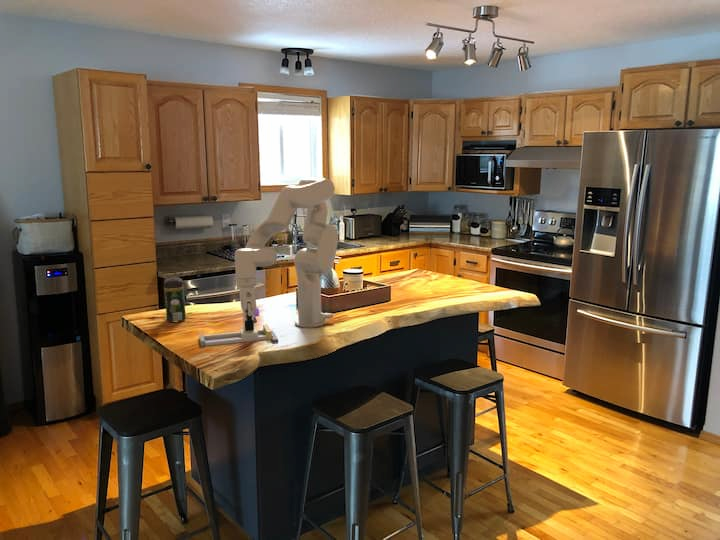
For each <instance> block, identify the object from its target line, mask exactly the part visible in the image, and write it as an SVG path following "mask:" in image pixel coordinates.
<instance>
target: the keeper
mask: <svg viewBox="0 0 720 540" xmlns="http://www.w3.org/2000/svg"><path fill="white" fill-rule="evenodd" d="M247 315H248V314H247ZM253 321H254V317H253ZM242 326H243V327H242V328H241V329H240V328H239V332H240V336H241V338H246V337H255V336H258V332H257V330H258V329H257V328H256V327H254V330H253V331H245V313H243V312H242Z"/></svg>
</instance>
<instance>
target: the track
mask: <svg viewBox="0 0 720 540" xmlns="http://www.w3.org/2000/svg"><path fill="white" fill-rule="evenodd" d="M256 330H257V332H258V336H255V337H246V338H241V336H240V331H236V332H235V331H234V332H227V333H226V332H224V333H217V334H215V333H214V334H204V332H201V333H198V334H199V338H198V339H199V343H200V344H199V345H200V348H208V347H209V348H211V347H218V346H219V347H220V346H226V345H227V346H228V345H238V344H246V343H255V342H257V343H258V342H265V341H270V343H271V344H275V342H276V343H279V339H278V337H277V335H276V334H275V332H274V330H271V329H270V327H269V325H268V324H262V329H256Z"/></svg>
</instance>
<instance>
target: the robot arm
mask: <svg viewBox="0 0 720 540" xmlns="http://www.w3.org/2000/svg"><path fill="white" fill-rule="evenodd" d="M335 189H336V188H335V185H334V182H333V181H332V180H330V179H328V178H323V177H322V178H321V177H306V178H302V179H300V180H299V182H298V184H297V185H285V186H284V187H282V189H281V190H280V192H279V194H278V195H277V198H276V200H275V203H274V204H273V207H272V208H271V210H270V212H269V214H268V217H267V218H266V219H265V220H264V221H262V223H260V224H259V226H257V228H255V230H254V231H253V232H252V233H251V234H250V236H249V239H248V240H247V243H246V244H245V247H243V248H238V249H236V250H235V252H234V264H235V265H234V266H235V283H236V287H237V288H239V300H240V308H241V310H242V314H243V313H245V331H253V330H254V328H255V323H254V321H253V311H254V312H256V311H257V309H256V308H257V302H256V300H257V299H256V289H255V287H256V286H258V283H257V282H258V281H257V267H265V268H267V267H270V266H272V265H274V264H275V263H276V261H277V259H278V253H277V252H276V250H275V249H274V248H273V247H270V246H265V245H266V243H267V242H268V241H269V240H270V238H272V237H273V236H275V235H277V234H279V233H283V231H285V230H287V229H288V228H289V226H290V224H291V222H292V219H293V218H294V215H295V213H296V211H297V209H306V216H305V220H304V226H303V231H302V240H303V242H304V243H305V244H306V245H309V246H313V247H316V249H314V248H306V247H305V248H301V249H299V250H298V251H296V253H295V254H294V258H293V262H294V267H295V272H296V280H297V281H296V283H297V311H298V313H297V314H298V317H297V318H298V319H296V320H294V325H295V326H297V327H299V328H305V329H307V328H308V329H311V328H319V327H323V326H324V325H325V324H326V319H333V318H334V315H333V313H328V312H325V313H324V312H322V292H321V291H322V289H321V288H322V287H321V286H322V285H321V277H320V275H322V276H323V275H327V274H329V273H330V272H331V271H332V269H333V267H334V264H335V259H336V255H337V248H338V244H339V232H338V229H337V228H336V227H335V226H334V225H332V224H330V223H327V220H328V205H327V203H326V202H327V201H328V200H330V199H331V198H332V197H333V196H334V194H335ZM252 310H253V311H252ZM247 314H248V315H247ZM318 326H319V327H318Z"/></svg>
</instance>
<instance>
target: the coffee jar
mask: <svg viewBox="0 0 720 540" xmlns="http://www.w3.org/2000/svg"><path fill="white" fill-rule="evenodd" d="M163 290H164V291H163V292H164V304H165V311H166V313H165V316H166V320H167V322H168V321H179V322H183V321H182V320H184V321H185V320H186V319H187V318H186V317H187V316H186V305H185V304H186V303H185V292H184V280H183V279H182V278H181V277H179V276H169V277H168V278H166V279H165V280H164V281H163Z"/></svg>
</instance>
